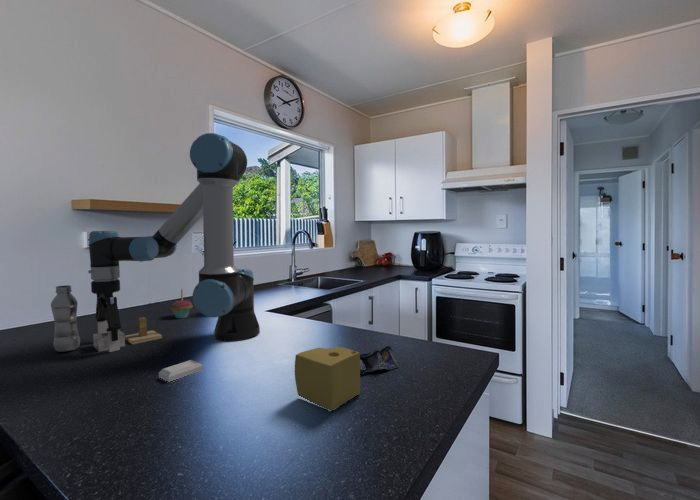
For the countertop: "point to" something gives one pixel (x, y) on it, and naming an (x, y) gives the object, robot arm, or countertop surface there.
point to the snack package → (377, 360)
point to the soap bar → (180, 370)
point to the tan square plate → (142, 333)
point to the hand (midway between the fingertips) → (108, 345)
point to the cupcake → (181, 307)
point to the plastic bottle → (65, 320)
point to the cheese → (328, 375)
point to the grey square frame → (106, 340)
